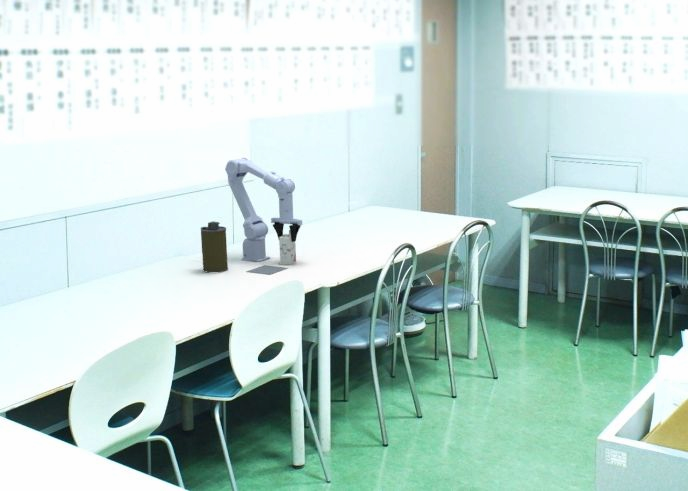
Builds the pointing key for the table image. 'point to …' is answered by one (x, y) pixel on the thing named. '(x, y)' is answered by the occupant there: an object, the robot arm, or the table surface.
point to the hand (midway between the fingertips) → (287, 240)
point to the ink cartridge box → (287, 249)
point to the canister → (214, 248)
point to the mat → (267, 270)
